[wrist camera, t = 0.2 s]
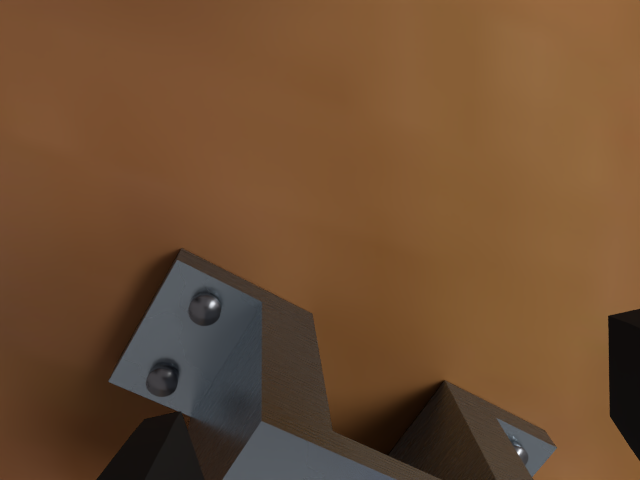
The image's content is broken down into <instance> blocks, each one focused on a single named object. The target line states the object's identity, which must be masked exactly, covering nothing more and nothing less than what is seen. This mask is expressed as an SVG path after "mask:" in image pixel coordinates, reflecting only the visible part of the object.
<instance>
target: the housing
mask: <svg viewBox="0 0 640 480" xmlns="http://www.w3.org/2000/svg"><path fill="white" fill-rule="evenodd" d="M108 382H110V383H112V384H115V385H117V386H119V387H122V388H124V389H126V390H129V391H131V392H134V393H136V394H138V395H141V396H143V397H145V398H148V399H150V400H153V401H155V402H157V403H160V404H162V405H164V406H167V407H169V408H172V409H174V410H176V411H181V412H182V413H183V414H186V415H188V416H190V422H189V427H188V433H189V436H190V438H191V441H192V444H193V447H194V450H195V453H196V456H197V459H198V462H199V465H200V467H201V470H202V473H203V476H204V479H205V480H533V478H532V477H533V475H534V474H535V473H536V472H537V471H538V470H539V468H540V467H541V466H542V465H543V464H544V463H545V461H546V460H547V459H548V458H549V457H550V456H551V454H552V453H553V452H554V451H555V450H556V449H557V447H556V446H555V444H554V443H553V441H552V440H551V439H550V437H549V436H548V434H547V433H546V431H545V430H543V429H541V428H539V427H537V426H535V425H533V424H531V423H529V422H527V421H525V420H523V419H521V418H519V417H517V416H515V415H513V414H511V413H509V412H507V411H505V410H503V409H501V408H499V407H497V406H495V405H493V404H491V403H489V402H487V401H485V400H483V399H481V398H479V397H477V396H475V395H473V394H471V393H469V392H467V391H465V390H463V389H461V388H459V387H457V386H455V385H453V384H451V383H449V382H447V381H444V382H443V383H442V385H441V386H440V387H439V389H438V390H437V391H436V393H435V394H434V395H433V396H432V398H431V399H430V400H429V402H428V403H427V404H426V406H425V407H424V408H423V410H422V411H421V412H420V414H419V415H418V416H417V418H416V419H415V420H414V422H413V423H412V424H411V426H410V427H409V428H408V429H407V431H406V432H405V433H404V435H403V436H402V437H401V439H400V440H399V441H398V443H397V444H396V445H395V447H394V448H393V449H392V451H391V452H390V453H389V455H385V454H383V453H381V452H379V451H376V450H374V449H372V448H370V447H367V446H365V445H363V444H361V443H358V442H356V441H354V440H352V439H349V438H347V437H345V436H343V435H340V434H338V433H336V432H334V431H333V430H332V424H331V418H330V412H329V407H328V401H327V395H326V389H325V384H324V378H323V372H322V366H321V360H320V355H319V349H318V343H317V337H316V332H315V326H314V320H313V314H312V313H310V312H308V311H306V310H304V309H302V308H300V307H298V306H296V305H294V304H292V303H290V302H288V301H286V300H284V299H282V298H280V297H278V296H276V295H274V294H272V293H270V292H268V291H266V290H264V289H262V288H260V287H258V286H256V285H254V284H252V283H250V282H248V281H246V280H244V279H242V278H240V277H238V276H236V275H234V274H232V273H230V272H228V271H226V270H224V269H222V268H220V267H218V266H216V265H214V264H212V263H210V262H208V261H206V260H204V259H202V258H200V257H198V256H196V255H194V254H192V253H190V252H188V251H186V250H184V249H182V248H181V250H180V252H179V253H178V255H177V257H176V259H175V261H174V262H173V264H172V266H171V268H170V269H169V271H168V273H167V275H166V277H165V278H164V280H163V282H162V284H161V285H160V287H159V289H158V291H157V293H156V294H155V296H154V298H153V300H152V301H151V303H150V305H149V307H148V309H147V310H146V312H145V314H144V316H143V317H142V319H141V321H140V323H139V325H138V326H137V328H136V330H135V332H134V333H133V335H132V337H131V339H130V341H129V342H128V344H127V346H126V348H125V349H124V351H123V353H122V355H121V357H120V358H119V360H118V362H117V364H116V366H115V368H114V370H113V372H112V375H111V377H110V379H109V381H108Z"/></svg>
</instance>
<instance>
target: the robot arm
mask: <svg viewBox="0 0 640 480" xmlns="http://www.w3.org/2000/svg"><path fill="white" fill-rule="evenodd" d="M608 328H609V391H610V417H611V419H612V420H613V422H614V423H615V425H616V426H617V428H618V429H619V431H620V432H621V434H622V435H623V437H624V439H625V440H626V442H627V443H628V445H629V446H630V448H631V449H632V450H633V452H634V453H635V455H636V456H637V458H638V459H639V460H640V309H637V310H633V311H628V312H624V313H619V314H615V315H610V316H608ZM97 480H205V479H204V476H203V473H202V470H201V467H200V465H199V462H198V459H197V456H196V453H195V450H194V447H193V444H192V441H191V438H190V436H189V433H188V430H187V427H186V424H185V421H184V418H183V415H182V412H181V411H179V412H174V413H170V414H165V415H161V416H156V417H152V418H147V419H144V420H143V422H142V423H141V424H140V425H139V426H138V427H137V429H136V430H135V431H134V432H133V434H132V435H131V436H130V437H129V439H128V440H127V441H126V442H125V444H124V445H123V446H122V447H121V449H120V450H119V451H118V453H117V454H116V455H115V457H114V458H113V459H112V460H111V462H110V463H109V464H108V466H107V467H106V468H105V469H104V471H103V472H102V473H101V475H100V476H99V477H98V478H97Z"/></svg>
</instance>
